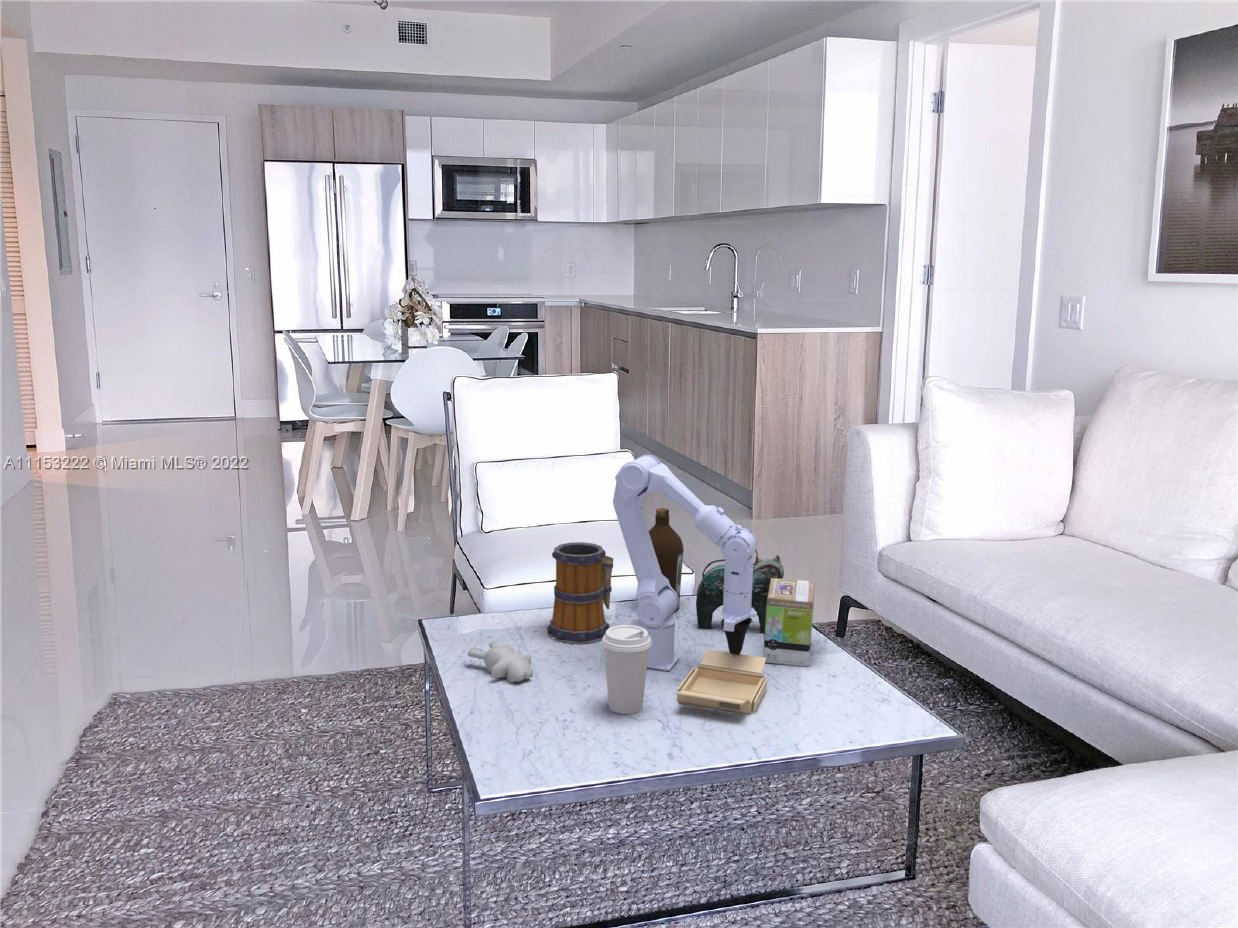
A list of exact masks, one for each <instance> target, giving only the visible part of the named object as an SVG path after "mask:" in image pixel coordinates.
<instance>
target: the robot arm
mask: <svg viewBox="0 0 1238 928" xmlns="http://www.w3.org/2000/svg"><path fill="white" fill-rule="evenodd" d="M614 478H615V481H616V482H615V488H614V493H613V499H612V505H613V509H614V511H615V514H616V518H617V521H618V524H619V527H620V530H621V533H622V537H623V540H624V543H625V546H626V550H627V552H628V553H627V554H628V556H629V559H630V563H631V564H632V568H633V572H634V574H635V578H636V580H637V587H636V592H635V598H636V602H637V607H636V608H637V609H636V614H637V619H636V618H634V619H633V620H632V621H631V623H630V625H633V626H638V627H642V628H644V629H645V630H647V632H648V635H649V636H650V638H651V641H652V646H651V647H650V648H649V654H648V662H647V669H653V670H660V671H668V672H669V671H671V670H672V669H673V667H674V666H675V664H677V662H678V661H679V659H680V655H678V654H675V632H676V631H675V630H676V629H675V628H676V627H675V626H676V624H675V623H676V620H675V616H674V613H676V612H677V611H676V609H677V608H678V605H679V606H680V603H679V598H678V595H677V593H676V592H675V591H674V590H673V589H672V587H671V586H670V583H669V580H668V579H667V578H666V577H665V576H663V575H662V573H661V570H660V567H659V564H658V560H657V557H656V554H655V551H654V548H653V545H652V541H651V538H650V535H649V532H648V531H649V529H648V527H647V523H646V520H645V517H644V514H643V510H642V507H641V502H642V501H643V499H644V497H645V495H646V494H647V493H648V494H662V495H663V494H664V495H665V496H666V497H667V498H668V499H670V500H671V501H673V502H674V503H675V504H676V505H677V506H678V507H680V508H681V509H682V510H683V511H685V512H687V513H688V514H689V515H690V516H692V518H693V520H694V525H695V528H696V529H698V530H699V531H700V532H701V533H703V535H704V536H705V537H707V538H708V539H709V540H710V541H711V542H712V543H714V544H715V545H716V546H717V547H718V548H720V549H721V554H722V557H723V558H724V559H725V561H724V563H725V564H724V565H725V569H724V595H723V605H722V608H721V615H722V619H721V621H720V626H721V628H722V629H723V632H724V634H725V637H726V642H727V646H728V652H729V653H730V654H737V655H740V654H741V653H742V650H743V647H744V642H745V638H746V635H747V632H748V629H749V627H750V625H751V623H752V621H753V618H756V617H757V616H758V615H757V612H756V611H755V610H752V607H751V601H752V580H753V566H754V565H753V564H754V556H753V554H754V552H756V551H755V549H756V550H757V545H758V543H757V537H756V536H755V535H754V534H753V532H752V531H751V530H750V529H748V528H743V527H742V526H741V525H740V524H737V523H735V522H734V521H733V520H732V519H730V518H729V517H728V516H727V515H725V513H724V512H725V509H723V508H722V507H721V506H719V507H717V506H716V505H714V504H713V505H708V504H707V505H705V503H703V501H701V500H700V499H699V498H698V497H697V495H695V494H694V493H693V491H691V490H690V488H688V487H687V486H686V485H685V483H683V482H682V481H681V480H680V479H679V478H678V477H676V475H674V474H673V472H672V471H671V470H670V469H669V467H668V466H667V465H666V464H664V463H662V462H661V461H659V459H658V458H657V457H655V456H654V455H651V454H644V455H640V456H638V457H637V458H636V459H633V460H632V461H628V462H626V463H624V464H623V465H622V466H621V468H620V469H619V470H618V472H617V474H616V475H615V476H614ZM675 611H676V612H675ZM673 612H674V613H673Z"/></svg>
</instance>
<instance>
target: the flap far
mask: <svg viewBox="0 0 1238 928" xmlns="http://www.w3.org/2000/svg"><path fill="white" fill-rule="evenodd" d="M765 661H766V658H764V657H763V656H758V655H757V656H755V655H751V654H750V655H749V654H748V655H747V654H743V653H742V654H741V653H740V655H737V654H730V652H729V651H728V652H727V651H722V650H714V649H708V648H706V649H705V651H704V654H703V657H702V659H701V663H700V665H702V666H709V667H716V668H722V669H729V670H735V671H742V672H749V673H755V674H762V675H763V671H764V668H765V664H766V662H765Z"/></svg>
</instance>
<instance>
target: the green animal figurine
mask: <svg viewBox="0 0 1238 928" xmlns="http://www.w3.org/2000/svg"><path fill="white" fill-rule="evenodd" d="M754 552H755V553H756V556H755V562H753V580H752V601H751V609H753V611H756V612H757V615H756V616H757V617H758V623H759V634H765V622H766V606H767V598H768V592H769V586H770V580H771V578H778V579H784V576H785V575H784V574H785V569H784V567H783V566H784V565H782V562H781V556H779V555H778V554H776V555H775V557H774V558H772V559H769V558H767V559H761V558H760V557H759V555H758V551H757V548H756V549H755V551H754ZM718 562H719V563H720V562H725V558H724V559H723V558H722V559H716V560H713V561H710V562H708V563H707V565H706V566H705V567H704V569H703V571H702V574H701V577H702V579H701V581H700V583H699V584H698V587H697V590H696V601H695V609H696V621H697V628H698V630H700V629H701V630H712V625H713V623H712V622H713V614H714V613H715V611H716V610H717V609H719V608H721V607H723V595H724V569H725V564H718V565H716V566H714V567H712V568H710V569H709V570H708V571H707V572H706V570H707V569H708V568H709V567H710V566H711V565H712V564H714V563H718ZM705 572H706V573H705Z"/></svg>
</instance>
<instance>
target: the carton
mask: <svg viewBox="0 0 1238 928" xmlns="http://www.w3.org/2000/svg"><path fill="white" fill-rule="evenodd" d="M767 686H768V679H767V678H766V677H765V675H764V674H763V673H762V674H756V673H750V672H743V671H737V670H730V669H723V668H717V667H710V666H703V665H701V664H697V667H692V668H691V670H690V671H689V672H688V674H687V675H686V677H685V678H684V680H682V682H681V684H680V685H679V687H678V688H677V690H676V692H679V691H682V690H684V691H690V692H696V693H703V694H709V695H715V696H721V697H728V698H734V699H740V700H746V701H747V702H746V703H744V704H743V705H740V704H734V703H728V702H722V701H716V700H709V699H703V698H697V697H691V696H685V695H679V694H676V699H677V700H678V704H683V705H684V704H685V705H689V706H695V707H702V708H707V709H712V710H713V709H714V710H719V709H720V711H725V710H728V711H727V712H731V711H733V713H737V712H738V714H743V715H745V714H746V715H751V714H752V713H753V712H756V711H757V709H758V706H759V705H760V702H761V700H762V698H763V697H764V694H765V692H766V690H767V688H768V687H767Z"/></svg>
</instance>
